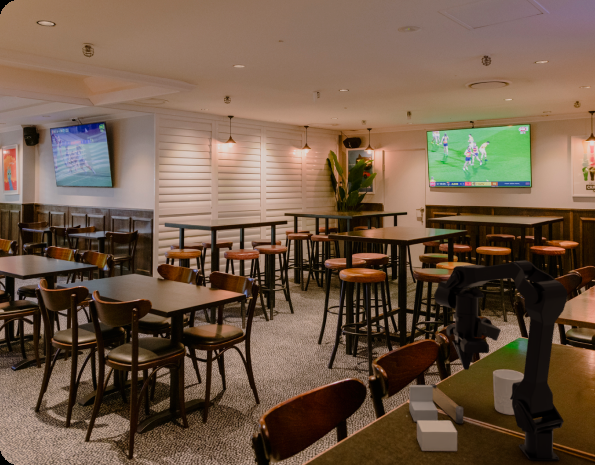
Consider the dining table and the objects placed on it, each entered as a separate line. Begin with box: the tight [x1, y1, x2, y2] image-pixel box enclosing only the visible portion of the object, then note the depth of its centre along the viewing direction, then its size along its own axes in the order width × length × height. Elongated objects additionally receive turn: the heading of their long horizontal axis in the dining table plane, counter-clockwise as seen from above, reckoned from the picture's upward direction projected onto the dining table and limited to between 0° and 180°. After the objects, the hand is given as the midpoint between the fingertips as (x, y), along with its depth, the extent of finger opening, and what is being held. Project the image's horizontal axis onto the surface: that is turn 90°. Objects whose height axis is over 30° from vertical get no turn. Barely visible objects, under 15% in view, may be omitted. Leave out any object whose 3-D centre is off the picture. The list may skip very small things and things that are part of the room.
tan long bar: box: [429, 383, 464, 424], centre depth 139 cm, size 18×2×4 cm, turn 9°
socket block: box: [416, 420, 458, 452], centre depth 120 cm, size 6×8×4 cm
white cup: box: [492, 368, 524, 416], centre depth 139 cm, size 8×8×10 cm
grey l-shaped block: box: [408, 384, 439, 422], centre depth 135 cm, size 7×6×7 cm
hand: (466, 369), depth 137 cm, fingers closed
